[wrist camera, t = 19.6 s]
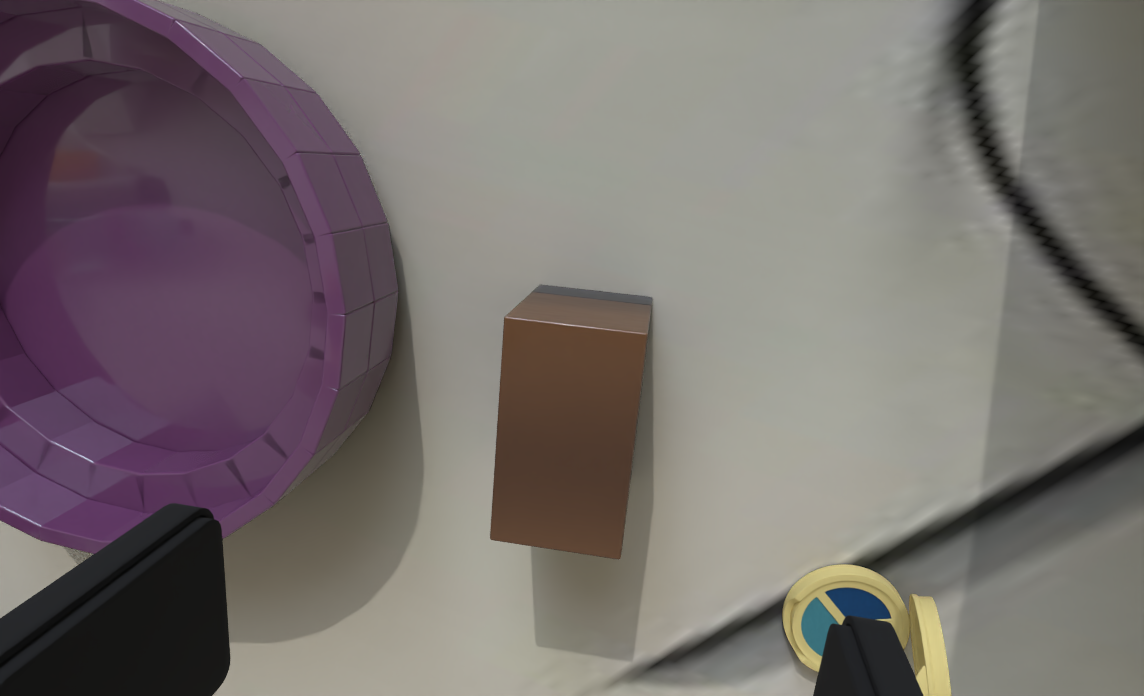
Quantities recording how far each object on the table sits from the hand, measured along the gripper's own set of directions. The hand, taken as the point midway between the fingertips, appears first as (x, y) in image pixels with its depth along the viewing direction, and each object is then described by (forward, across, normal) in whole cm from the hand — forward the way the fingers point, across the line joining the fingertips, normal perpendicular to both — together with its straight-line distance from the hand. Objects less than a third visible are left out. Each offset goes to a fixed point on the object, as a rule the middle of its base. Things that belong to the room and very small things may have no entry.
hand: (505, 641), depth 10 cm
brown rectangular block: (+15, +1, +1) cm, 15 cm away
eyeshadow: (+15, -10, +9) cm, 20 cm away
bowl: (+15, +17, -1) cm, 22 cm away
